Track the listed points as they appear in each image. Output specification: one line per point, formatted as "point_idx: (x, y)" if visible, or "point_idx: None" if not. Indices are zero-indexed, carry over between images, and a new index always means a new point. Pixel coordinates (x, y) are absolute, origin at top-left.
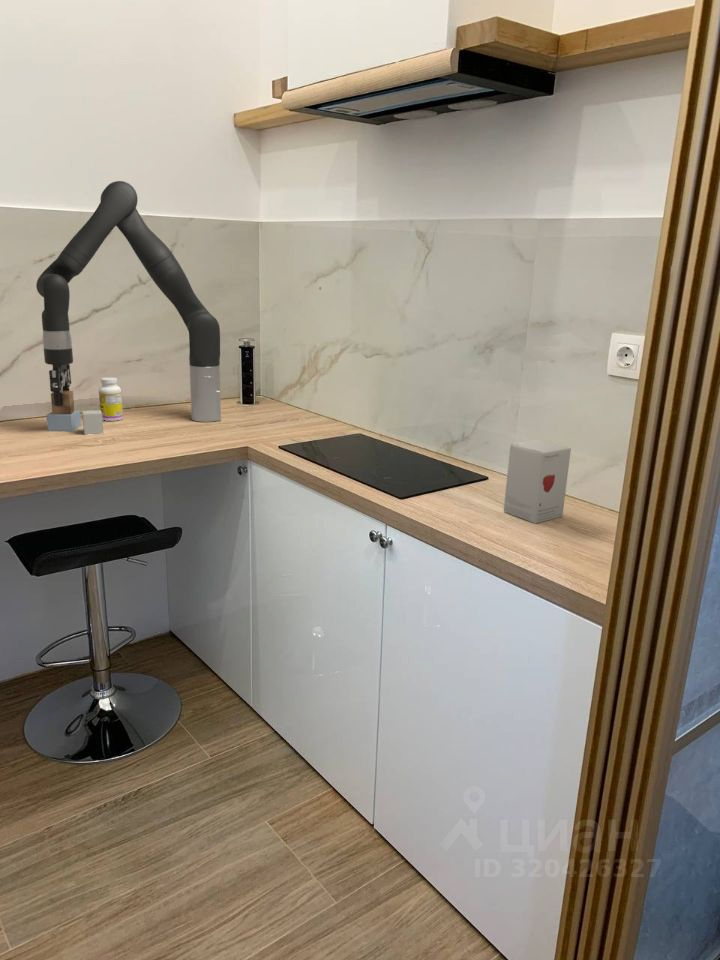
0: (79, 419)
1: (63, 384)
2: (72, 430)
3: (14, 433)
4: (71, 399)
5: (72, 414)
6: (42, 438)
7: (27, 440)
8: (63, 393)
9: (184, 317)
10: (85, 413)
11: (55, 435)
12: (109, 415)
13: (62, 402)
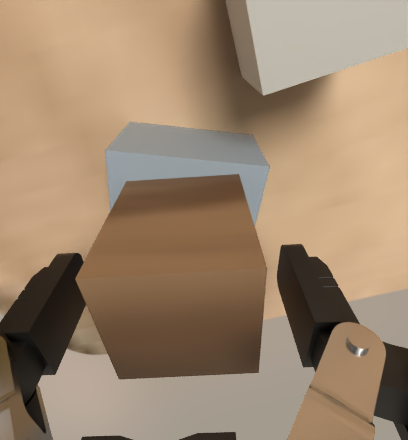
0: (139, 135)
1: (353, 412)
2: (249, 136)
3: (265, 308)
4: (180, 228)
5: (238, 164)
6: (365, 217)
7: (383, 253)
8: (241, 312)
9: None
10: (380, 33)
11: (320, 186)
12: None
13: (307, 257)
